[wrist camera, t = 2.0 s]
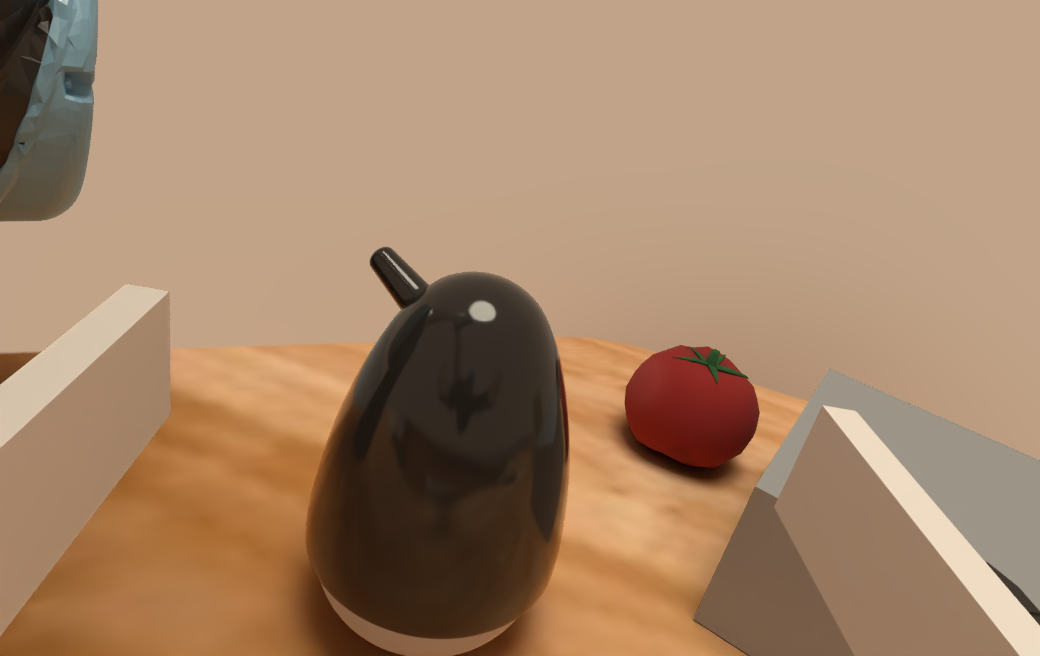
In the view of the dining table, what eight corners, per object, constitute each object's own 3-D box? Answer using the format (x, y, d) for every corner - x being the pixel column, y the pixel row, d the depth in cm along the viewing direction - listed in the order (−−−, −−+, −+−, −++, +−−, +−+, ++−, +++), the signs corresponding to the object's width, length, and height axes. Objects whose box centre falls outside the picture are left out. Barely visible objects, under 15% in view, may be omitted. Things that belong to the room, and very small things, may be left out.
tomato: (679, 405, 50) (712, 317, 47) (761, 475, 44) (805, 381, 41) (592, 419, 46) (622, 324, 43) (669, 499, 40) (711, 396, 37)
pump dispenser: (415, 482, 36) (467, 208, 30) (577, 600, 32) (682, 306, 25) (242, 585, 28) (261, 244, 22) (425, 763, 24) (520, 396, 17)
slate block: (692, 619, 32) (755, 486, 29) (779, 472, 45) (829, 368, 41) (1090, 875, 25) (1235, 743, 22) (1059, 617, 38) (1147, 507, 35)
